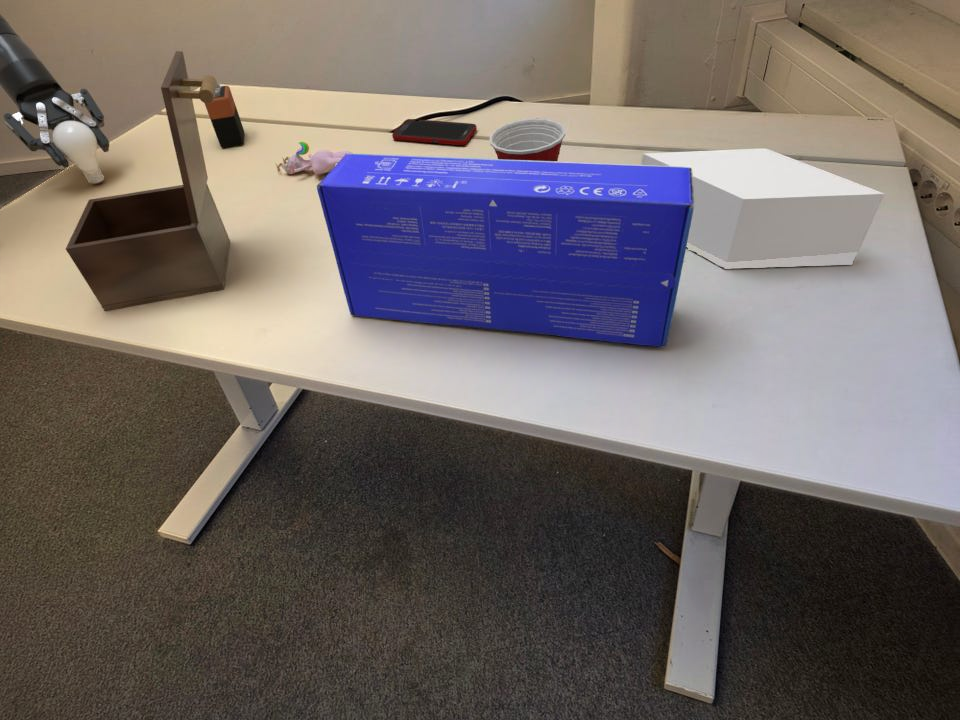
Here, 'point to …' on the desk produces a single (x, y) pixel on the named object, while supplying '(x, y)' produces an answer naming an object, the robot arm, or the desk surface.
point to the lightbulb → (79, 148)
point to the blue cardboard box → (511, 243)
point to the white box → (771, 205)
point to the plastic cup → (528, 140)
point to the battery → (225, 118)
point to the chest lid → (187, 128)
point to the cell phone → (435, 132)
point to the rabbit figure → (312, 161)
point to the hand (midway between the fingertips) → (87, 156)
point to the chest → (149, 247)
